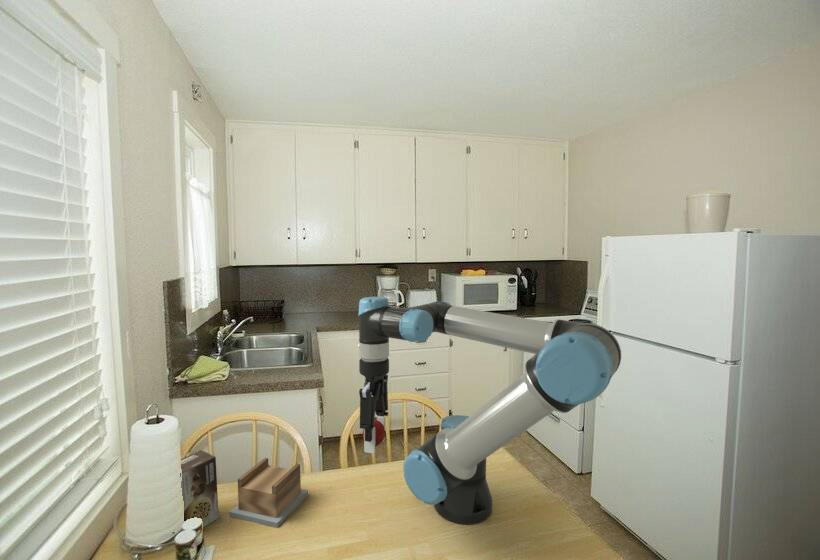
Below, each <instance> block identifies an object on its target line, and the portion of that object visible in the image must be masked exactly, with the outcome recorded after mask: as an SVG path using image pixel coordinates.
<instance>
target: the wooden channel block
mask: <svg viewBox="0 0 820 560" xmlns="http://www.w3.org/2000/svg"><path fill="white" fill-rule="evenodd" d="M301 482H302V481H301V464H300V463H295V465H293V466H292V467H291V468H290V469H289V468H285V467H280V466H273V465H270V464H269V457H264V458H263V459H262V460H260V461H259V462H258V463H257V464H255V465H254V466H253V467H251V468H250V469H249V470H248V471H246V472H244V474H242V475H241V476H240V477H239V478H237V497H238V498H237V499H238V503H237V505H238V507H239V510H243V511H247V512H252V513H256V514H260V515H265V516H269V517H274V518H277V517H278V516H279V515H280V514H281V513H282V511H283V510H284V509H285V508H286V507H287V506H288V505H289V504H290V503H291V502H292V501H293V500H294V499H295V498H296V497H297V496H298V495H299V494H300V493H301V489H302V488H301V486H302V485H301Z"/></svg>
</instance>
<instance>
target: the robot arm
mask: <svg viewBox="0 0 820 560" xmlns="http://www.w3.org/2000/svg"><path fill="white" fill-rule="evenodd" d="M389 303H390V302H389V298H388V297H384V296H367V297H362V298H361V299H359V303H358V304H359V305H358V315H357V316H358V334H359V335H358V336H359V337H358V341H359V342H358V343H359V344H358V345H357V347H358V349H359V352H358V353H359V358H360V359H359V361H358V362H359V364H358V365H359V366H358V367H359V369H358V370H359V374H360V375H362V376H363V377H364V385H363V388H359V391H358V393H359V394H358V395H359V398H360V399H359V429H362V430H363V429H364V439H363V440H364V441H363V443H364V445H363V447H364V448H363V451H364V453H367V454H375V453H377V452H376V447H375V427H374V418H375V417H377V420H378V421H379V422H381V423H382V424H383V426H384V428H385V429H386V427H385V425H386V424H385V423H386V419H385V418H386V417H388V416H389V412H388V410H389V400H388V399H389V397H388V392H389V391H388V381H389V380H388V378H389V375H388V374H389V372H390V359H389V357H390V339H395V340H401V341H407V342H410V343H415V342H416V343H417V342H418V343H424V342H426V341H428V339H429V337H431V335H432V333H439V334H443V335H448V336H453V337H458V338H461V339H467V340H471V341H476V342H479V343H484V344H487V345H488V344H489V345H492V346H493V345H494V346H498V347H502V348H507V349H511V350H516V351H520V352H523V353H524V352H525V353H529V354H534V355H533V356H531V358H529V359H528V360H526V362H525V363H524V373H523V374H522V375H521V376H519V377H518V378H517V379H515V380H514V381H513V382H511V383H510V384H508V386H507V387H505V388H504V389H502V391H500V392H499V393H498V394H496V395H495V396H494V397H493V398H491V399H490V400H489V401H487V402H486V403H485V404H484V405H483V406H482V407H480V408H479V409H478V410H476V411H475V412H473V413H472V414H471V415H470V416H468V415H458V414H457V415H456V414H453V415H447V416H445V417H443V418H442V419H441V423H440V430H439V431H438V432H437V433H435V434H434V435H433V436H432V437H430V438H429V439H427V440H426V441H425V442H424V443H423V444H422V445H421V446H419V447H418V448H416V449H415V450H412V451H411V452H410V453H409V454H408V455H407V457H406V458H405V460H404V462H403V466H402V469H403V478H404V480H405V484H406V485H407V487H408V489H409V490H410V491H409V492H410V493H412V495H413V496H415V498H417V500H419V501H422V502H423V503H424V504H426V505H430V506H431V505H432V506H433V508H434V509H435V511H436V513H437V514H438V515H439V516H440V517H442V518H443V519H445V520H447V521H449V522H452V523H454V524H459V525H460V524H461V525H474V524H478V523H482V522H483V521H485V520H487V519H488V518H489V517H490V516H491V515H492V512H493V498H492V494H491V491H490V487H489V483H488V481H487V458H488V457H489V456H491V455H493V454H495V452H496V451H498V450H500V449H501V448H502V447H504V446H505V445H506V444H509V443H510V442H512V441H513V440H514V439H516V438H517V437H519V436H520V435H522V434H523V433H524V432H526V431H527V430H529V429H531V427H533V426H534V425H536V424H537V423H539V422H541V421H542V420H543V419H545V418H546V417H547V416H548V415H551V414H552V413H553V412H558V413H561V414H567V413H569V412H570V411H572V410H573V409H575V408H576V407H578V406H579V405H582V404H586V403H588V402H591V401H593V400H595V399H596V398H598V397H599V396H601V395H602V393H604V391H605V390H606V389H607V387H608V386H609V385H610V382H611V379H612V378H613V376H614V375H615V373H616V372H617V371H618V370H619V368H620V364H621V362H622V349H621V346H620V344H619V341H618V340H617V338H616V337H615V335H614V334H613V333H611V331H609V330H608V329H606V328H605V327H604V326H600V325H599V324H595V323H589V322H580V321H571V320H564V319H559V318H557V319H556V320H554V321H553V322H548V321H543V320H536V319H532V318H525V317H520V316H515V315H509V314H503V313H502V314H501V313H496V312H492V311H491V312H490V311H486V310H480V309H474V308H469V307H468V308H467V307H462V306H461V307H460V306H457V305H452V304H451V303H449V302H447V301H440V300H439V301H433V302H430V303H425V304H424V303H423V304H420V305H416V306H411V307H396V306H390V304H389ZM389 338H390V339H389ZM385 441H386V437H385V438H384V440H383V441H382V442H381V443H383V442H385Z"/></svg>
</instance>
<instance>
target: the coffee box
mask: <svg viewBox="0 0 820 560" xmlns="http://www.w3.org/2000/svg"><path fill="white" fill-rule="evenodd" d="M180 459H181V469H182V481H181V488H182V496H183V501H184V521H186V520H187V519H190V518H194V517H197V518H201V519H202V521H203V528H205V527H206V526H207V525H209V524H211V523H213V522H214V521H216V520H217V519H219V500H218V499H219V498H218V497H219V496H218V479H217V461H216V460H217V459H216V456H214V455H212V454H210V453H209V452H207V451H204V450H201V449H200V450H198V451H196V452H193V453H192V454H189V455H187V456H185V457H183V458H180ZM180 477H181V473H180Z"/></svg>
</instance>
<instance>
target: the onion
mask: <svg viewBox="0 0 820 560" xmlns="http://www.w3.org/2000/svg"><path fill="white" fill-rule="evenodd" d="M374 427H375V448H376V447H378V446H379V445H380V444H381V443H383V442H382V441H383V440H384V438H385V439H386V427H385V428H384V426H383V424H382V423H381V422H379V421H378V420H377V417H375V418H374ZM362 437H363V438H362V439H363V440H364V429H362Z"/></svg>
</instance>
